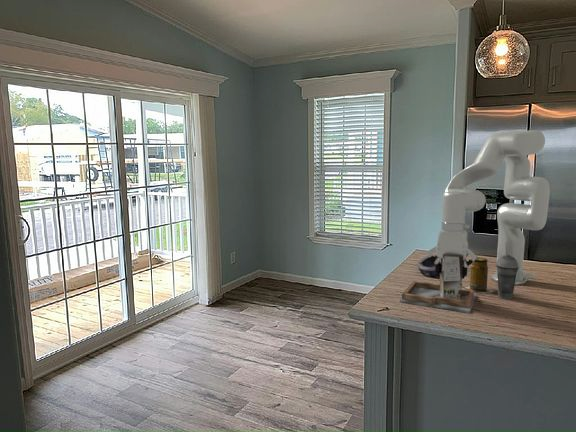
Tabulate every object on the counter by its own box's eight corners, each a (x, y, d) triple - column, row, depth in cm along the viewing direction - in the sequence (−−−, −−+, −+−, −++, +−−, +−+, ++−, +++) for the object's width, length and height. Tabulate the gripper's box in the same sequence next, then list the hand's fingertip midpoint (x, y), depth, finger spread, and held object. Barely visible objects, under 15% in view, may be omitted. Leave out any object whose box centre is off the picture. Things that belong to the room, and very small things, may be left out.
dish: (407, 274, 186) (408, 263, 186) (434, 260, 210) (434, 250, 209) (443, 281, 177) (444, 269, 176) (466, 265, 200) (467, 254, 200)
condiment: (477, 285, 170) (478, 255, 168) (495, 291, 163) (497, 260, 161) (463, 288, 167) (465, 258, 165) (482, 294, 160) (484, 263, 158)
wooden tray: (476, 296, 158) (476, 288, 157) (469, 313, 141) (469, 305, 141) (412, 286, 169) (413, 280, 169) (399, 301, 153) (399, 294, 152)
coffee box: (461, 302, 148) (463, 256, 146) (442, 301, 150) (443, 256, 147) (457, 293, 157) (459, 250, 155) (438, 292, 159) (440, 249, 156)
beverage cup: (507, 302, 151) (511, 246, 148) (489, 295, 158) (492, 242, 155) (520, 298, 155) (525, 244, 152) (502, 292, 161) (506, 240, 158)
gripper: (481, 227, 148) (478, 276, 151) (429, 223, 157) (427, 270, 160) (478, 230, 142) (476, 282, 145) (424, 226, 151) (423, 275, 153)
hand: (450, 275), depth 152 cm, fingers closed on coffee box, 7 cm apart
